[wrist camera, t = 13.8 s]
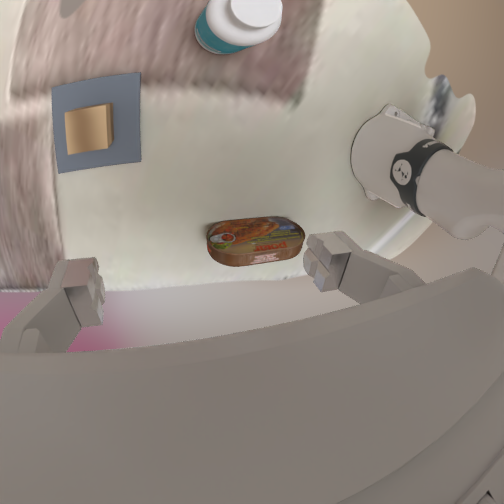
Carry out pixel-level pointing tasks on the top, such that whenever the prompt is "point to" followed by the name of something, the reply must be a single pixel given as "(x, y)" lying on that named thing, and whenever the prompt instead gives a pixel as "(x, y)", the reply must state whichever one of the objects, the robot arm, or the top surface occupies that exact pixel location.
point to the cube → (89, 128)
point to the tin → (254, 241)
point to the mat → (124, 119)
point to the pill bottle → (237, 24)
